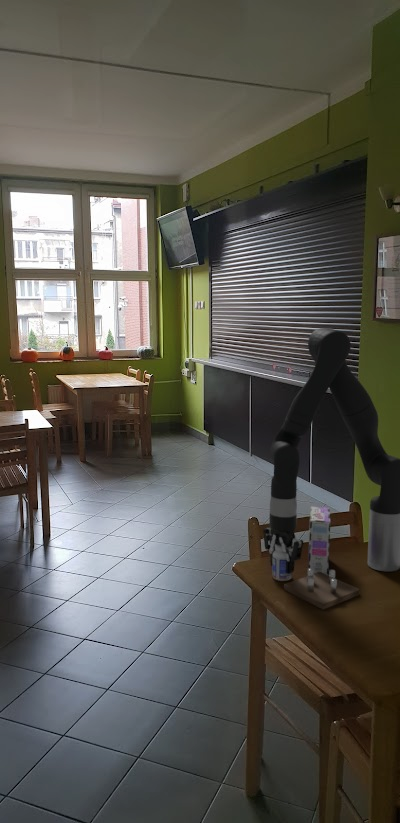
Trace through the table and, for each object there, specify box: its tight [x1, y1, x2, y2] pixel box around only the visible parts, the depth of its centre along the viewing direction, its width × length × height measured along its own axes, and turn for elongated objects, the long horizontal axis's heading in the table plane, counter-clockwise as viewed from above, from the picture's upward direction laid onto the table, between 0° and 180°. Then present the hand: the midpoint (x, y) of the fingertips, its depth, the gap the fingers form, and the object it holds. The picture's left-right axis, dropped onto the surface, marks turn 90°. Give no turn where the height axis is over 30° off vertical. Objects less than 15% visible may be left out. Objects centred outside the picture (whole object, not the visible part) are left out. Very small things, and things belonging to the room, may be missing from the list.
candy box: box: [308, 506, 331, 576], centre depth 176 cm, size 14×6×16 cm, turn 168°
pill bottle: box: [271, 544, 293, 582], centre depth 169 cm, size 5×5×10 cm
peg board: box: [283, 572, 360, 611], centre depth 160 cm, size 14×14×2 cm
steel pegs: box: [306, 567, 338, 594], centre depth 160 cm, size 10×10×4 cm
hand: (281, 569), depth 169 cm, fingers closed on pill bottle, 5 cm apart
